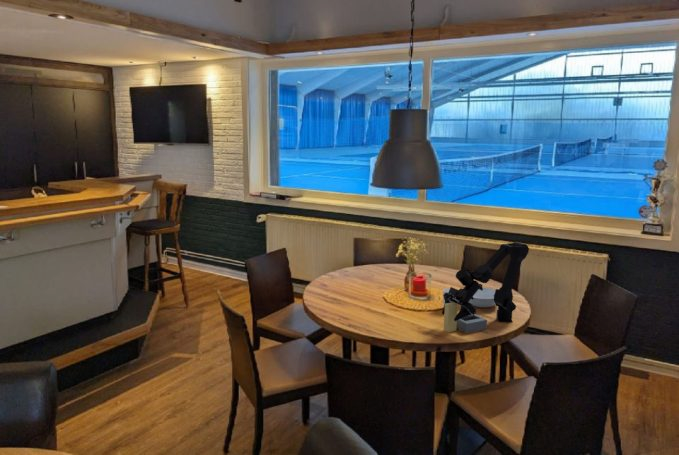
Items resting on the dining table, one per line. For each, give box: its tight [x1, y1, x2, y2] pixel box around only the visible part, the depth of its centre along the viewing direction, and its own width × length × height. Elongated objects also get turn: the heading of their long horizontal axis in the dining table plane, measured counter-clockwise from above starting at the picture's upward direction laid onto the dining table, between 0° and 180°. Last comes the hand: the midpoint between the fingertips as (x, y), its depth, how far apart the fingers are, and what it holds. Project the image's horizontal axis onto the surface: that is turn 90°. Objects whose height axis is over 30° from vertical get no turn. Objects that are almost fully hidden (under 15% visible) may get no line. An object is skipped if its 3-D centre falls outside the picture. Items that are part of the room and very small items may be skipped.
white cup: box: [442, 287, 451, 309], centre depth 269 cm, size 8×8×10 cm
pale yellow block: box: [443, 302, 459, 333], centre depth 240 cm, size 5×3×13 cm, turn 115°
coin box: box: [456, 313, 488, 334], centre depth 246 cm, size 12×11×4 cm
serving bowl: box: [469, 287, 496, 308], centre depth 277 cm, size 21×21×7 cm
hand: (448, 317), depth 240 cm, fingers open, 9 cm apart
